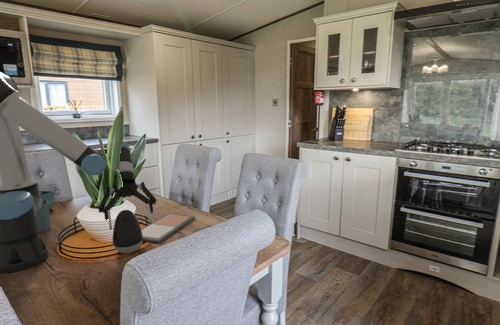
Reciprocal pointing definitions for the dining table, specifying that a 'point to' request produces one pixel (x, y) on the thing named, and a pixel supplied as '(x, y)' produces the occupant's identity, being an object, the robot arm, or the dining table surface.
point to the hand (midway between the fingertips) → (131, 224)
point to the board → (165, 227)
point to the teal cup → (43, 218)
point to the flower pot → (48, 197)
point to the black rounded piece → (127, 232)
